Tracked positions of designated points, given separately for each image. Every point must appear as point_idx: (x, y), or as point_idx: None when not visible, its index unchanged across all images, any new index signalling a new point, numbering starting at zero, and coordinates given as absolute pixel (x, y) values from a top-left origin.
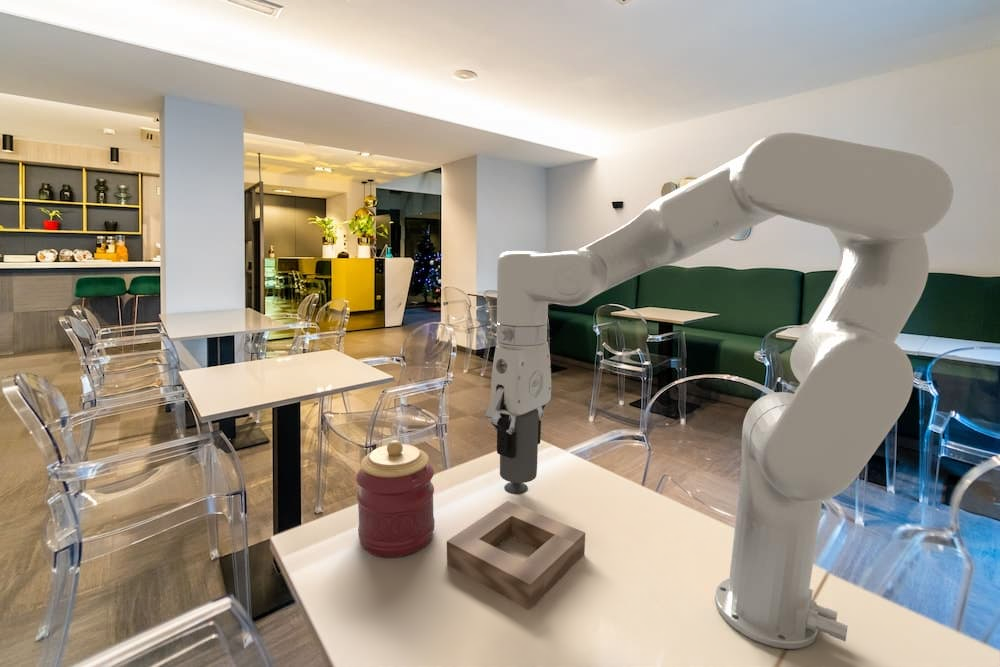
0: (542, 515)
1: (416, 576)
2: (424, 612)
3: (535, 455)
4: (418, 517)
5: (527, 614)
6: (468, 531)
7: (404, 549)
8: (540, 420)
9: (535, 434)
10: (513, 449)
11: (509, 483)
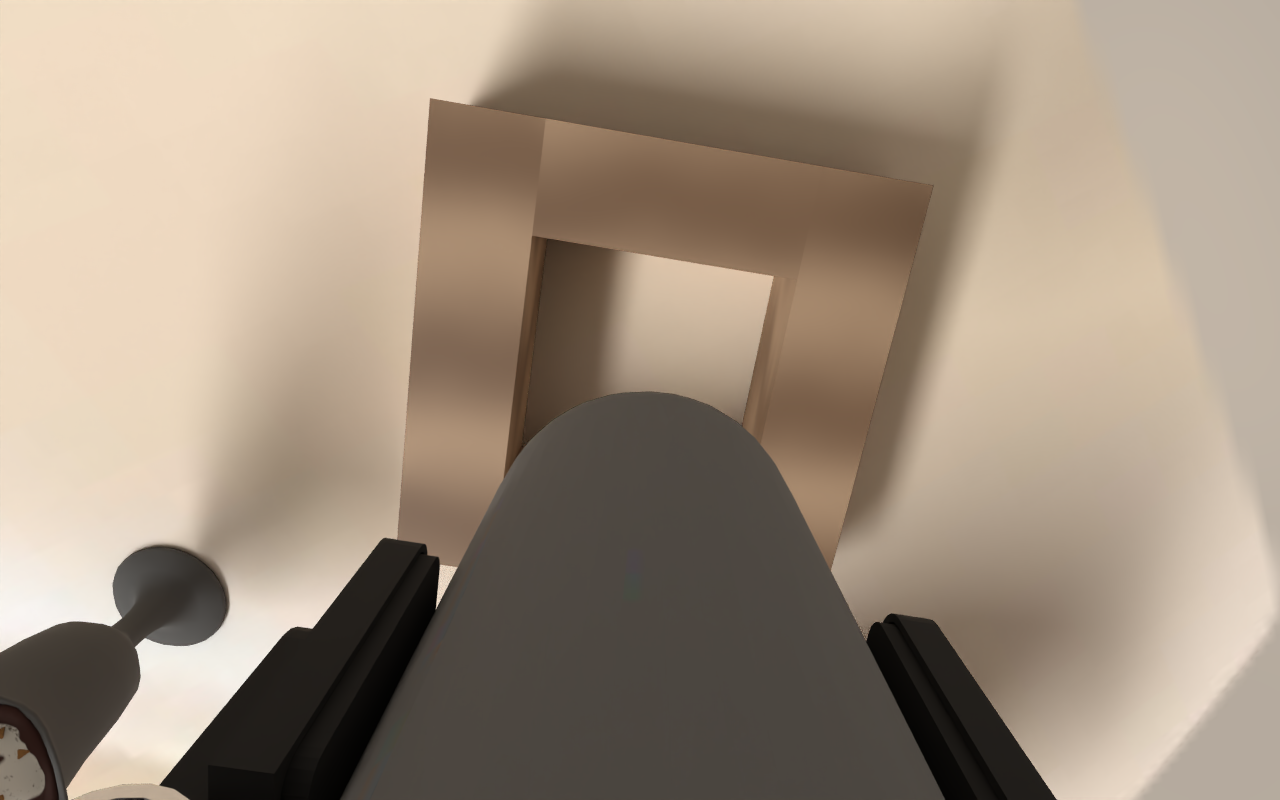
0: (415, 358)
1: (899, 614)
2: (1041, 497)
3: (653, 464)
4: None
5: None
6: None
7: None
8: (214, 773)
9: (682, 613)
10: (978, 687)
11: (163, 636)
